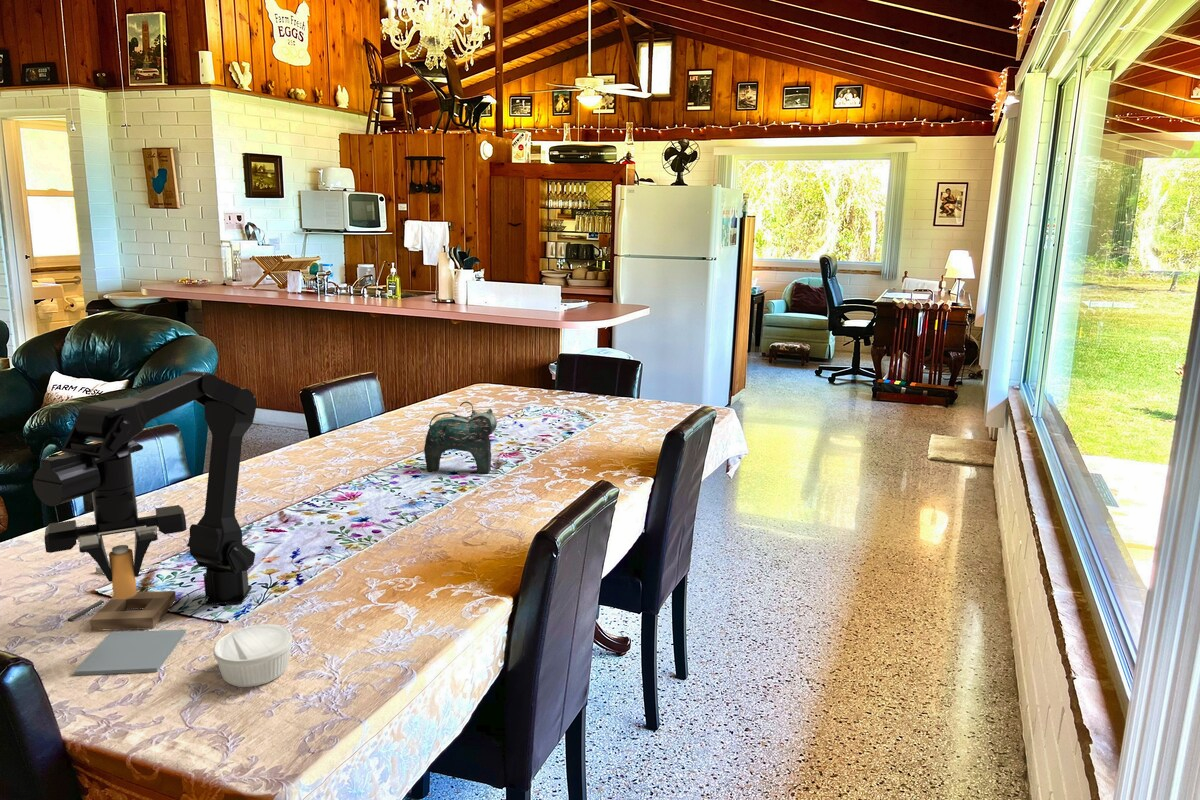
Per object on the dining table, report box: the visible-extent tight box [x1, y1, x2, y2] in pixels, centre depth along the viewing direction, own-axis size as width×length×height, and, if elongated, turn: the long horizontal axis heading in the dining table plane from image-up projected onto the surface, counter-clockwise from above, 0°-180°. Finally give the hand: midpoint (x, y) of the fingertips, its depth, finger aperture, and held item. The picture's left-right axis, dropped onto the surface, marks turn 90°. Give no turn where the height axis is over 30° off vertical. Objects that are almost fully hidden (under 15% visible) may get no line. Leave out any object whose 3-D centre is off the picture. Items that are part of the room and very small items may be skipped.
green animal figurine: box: [423, 400, 498, 475], centre depth 223 cm, size 20×6×20 cm, turn 84°
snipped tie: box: [67, 600, 105, 622], centre depth 144 cm, size 7×1×1 cm, turn 167°
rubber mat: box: [73, 629, 187, 676], centre depth 131 cm, size 12×12×1 cm
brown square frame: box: [89, 590, 177, 631], centre depth 143 cm, size 10×10×2 cm
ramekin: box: [212, 623, 293, 688], centre depth 126 cm, size 11×11×5 cm
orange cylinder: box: [108, 544, 138, 599], centre depth 128 cm, size 3×3×8 cm
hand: (123, 578), depth 128 cm, fingers closed on orange cylinder, 3 cm apart
